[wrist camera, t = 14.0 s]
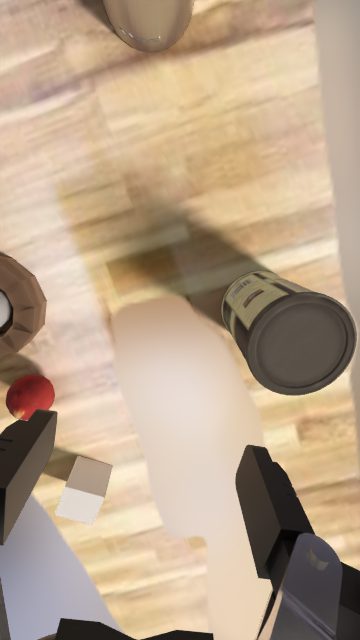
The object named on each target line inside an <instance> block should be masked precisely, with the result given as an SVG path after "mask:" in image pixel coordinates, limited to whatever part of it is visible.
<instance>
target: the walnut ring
mask: <svg viewBox="0 0 360 640" xmlns="http://www.w3.org/2000/svg"><path fill="white" fill-rule="evenodd" d="M0 288H1V289H2V290H3V291H4V292H5V293H6V295H7V296H8V298H9V300H10V302H11V304H12V306H13V308H14V311H13V325H12V326H11V327H10V329H9V330H7V331H0V357H2V356H5V355H9V354H12V353H15V352H18V351H19V350H20V349H22V348H23V347H24V346H25V345H27V344H28V343H29V342H30V341H31V340H32V339H33V338H34V336H35V335H36V334H37V333H38V332H39V330H40V329H41V328H42V327H43V326H44V324H45V313H46V302H47V300H46V298H45V296H44V294H43V292H42V290H41V288H40V285H39V283H38V281H37V279H36V277H35V276H34V275H33V274H32V273H31V272H29V271H28V270H27V269H26V268H24V267H23V266H22V265H21V264H19V263H18V262H17V261H15V260H14V259H13V258H11V257H6V256H2V255H0Z"/></svg>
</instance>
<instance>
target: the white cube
mask: <svg viewBox="0 0 360 640" xmlns="http://www.w3.org/2000/svg"><path fill="white" fill-rule="evenodd" d="M111 470H112V465H109V464H105V463H102V462H98V461H95V460H92V459H88V458H85V457H81V456H77V459H76V461H75V464H74V466H73V468H72V471H71V473H70V476H69V478H68V480H67V483H66V485H65V488H64V491H63V493H62V496H61V499H60V501H59V504H58V507H57V509H56V512H55V516H59V517H63V518H67V519H71V520H75V521H79V522H82V523H86V524H90V525H93V523H94V521H95V519H96V517H97V514H98V512H99V510H100V507H101V505H102V503H103V500H104V498H105V494H106V490H107V486H108V482H109V478H110V474H111Z"/></svg>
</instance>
